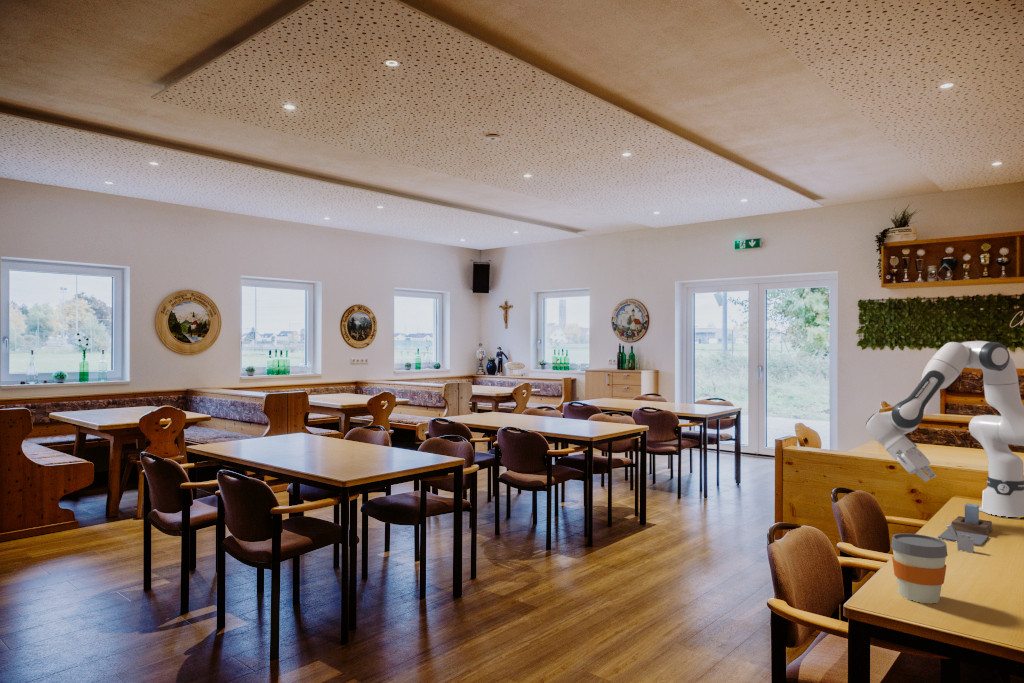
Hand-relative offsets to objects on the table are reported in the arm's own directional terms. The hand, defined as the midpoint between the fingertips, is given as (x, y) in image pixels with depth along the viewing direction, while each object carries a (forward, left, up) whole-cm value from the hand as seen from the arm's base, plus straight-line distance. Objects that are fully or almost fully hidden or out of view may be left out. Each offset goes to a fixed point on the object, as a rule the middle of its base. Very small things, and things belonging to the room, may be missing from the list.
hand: (931, 479), depth 239 cm
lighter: (+31, +14, -17) cm, 38 cm away
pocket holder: (0, +12, -17) cm, 21 cm away
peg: (0, +12, -17) cm, 21 cm away
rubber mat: (+14, +12, -17) cm, 25 cm away
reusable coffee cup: (+87, +15, -17) cm, 90 cm away
